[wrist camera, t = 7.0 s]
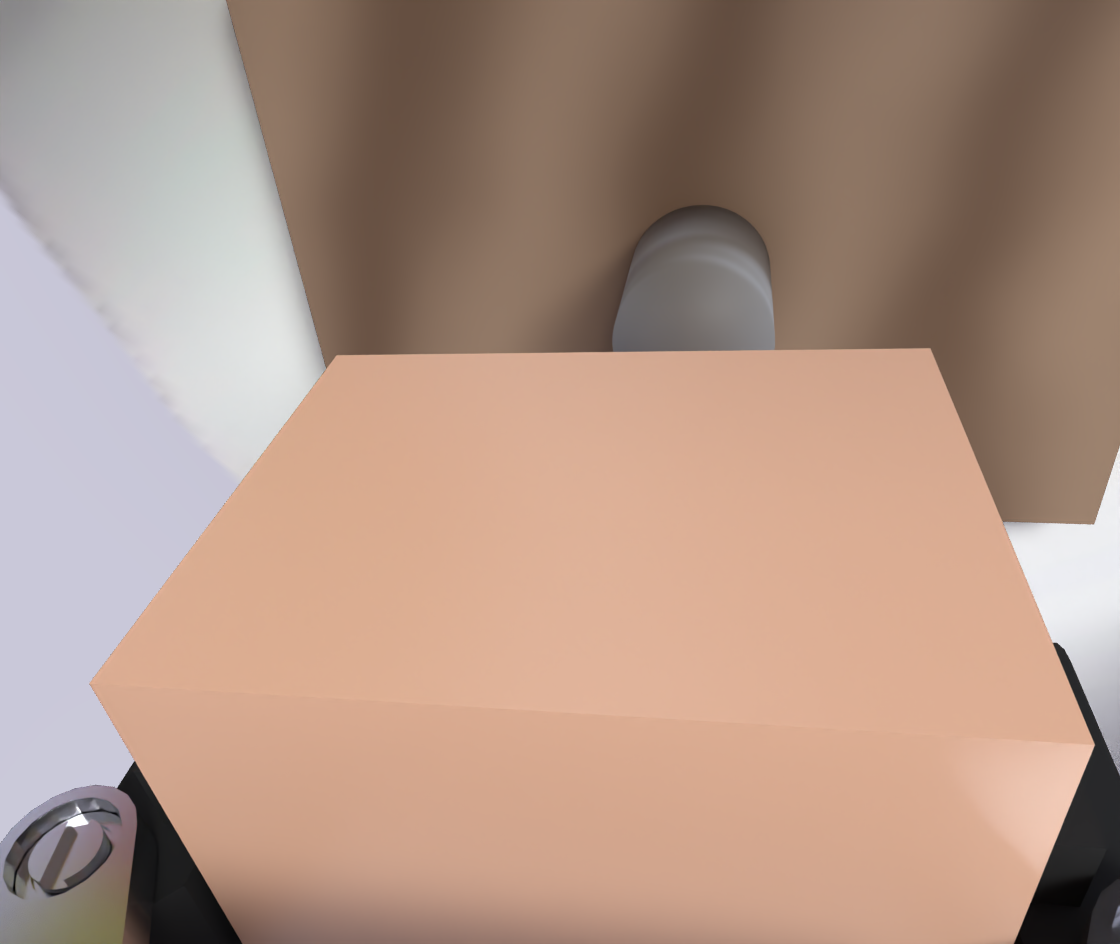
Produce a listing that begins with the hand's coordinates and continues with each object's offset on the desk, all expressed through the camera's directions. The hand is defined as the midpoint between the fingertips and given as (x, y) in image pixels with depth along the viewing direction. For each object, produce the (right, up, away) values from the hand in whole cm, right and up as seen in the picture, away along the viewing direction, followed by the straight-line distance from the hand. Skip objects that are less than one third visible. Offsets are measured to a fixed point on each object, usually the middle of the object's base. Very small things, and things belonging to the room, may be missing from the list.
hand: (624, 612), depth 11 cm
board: (+3, +7, +11) cm, 13 cm away
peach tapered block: (0, 0, +1) cm, 1 cm away
